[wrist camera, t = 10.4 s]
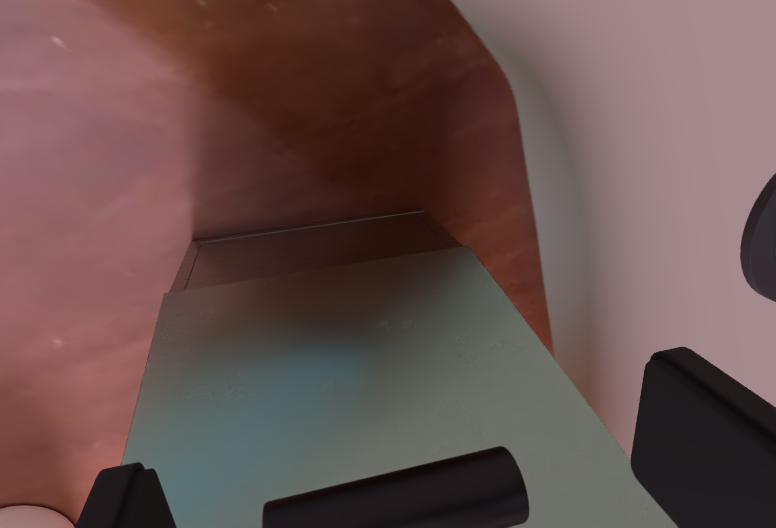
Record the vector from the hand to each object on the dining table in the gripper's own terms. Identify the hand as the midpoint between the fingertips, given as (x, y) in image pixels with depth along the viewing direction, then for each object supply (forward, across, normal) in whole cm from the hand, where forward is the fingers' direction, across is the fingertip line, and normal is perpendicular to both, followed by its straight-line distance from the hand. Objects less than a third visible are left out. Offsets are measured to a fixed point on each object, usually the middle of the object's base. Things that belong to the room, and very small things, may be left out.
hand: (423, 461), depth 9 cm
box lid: (+9, +1, +6) cm, 10 cm away
